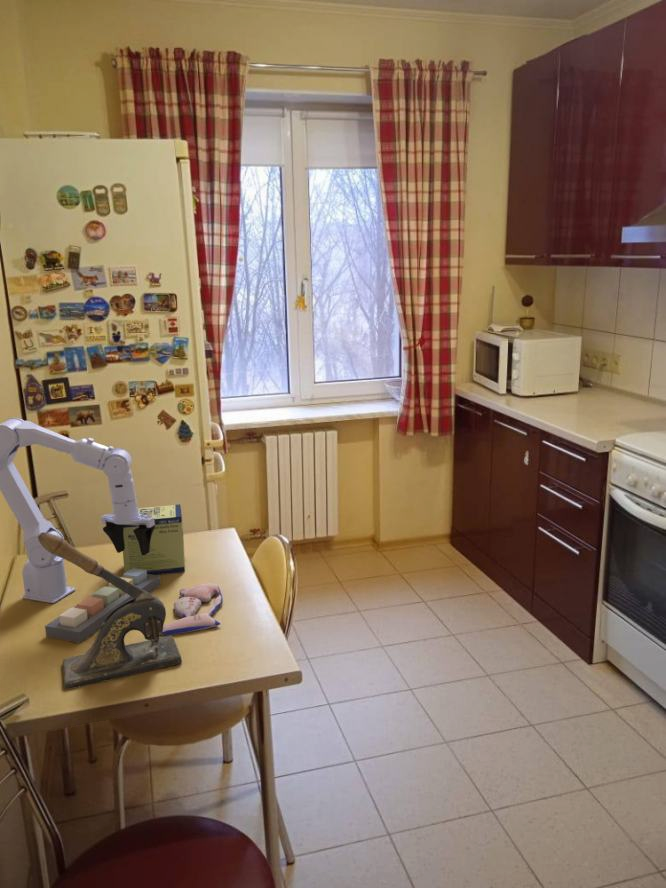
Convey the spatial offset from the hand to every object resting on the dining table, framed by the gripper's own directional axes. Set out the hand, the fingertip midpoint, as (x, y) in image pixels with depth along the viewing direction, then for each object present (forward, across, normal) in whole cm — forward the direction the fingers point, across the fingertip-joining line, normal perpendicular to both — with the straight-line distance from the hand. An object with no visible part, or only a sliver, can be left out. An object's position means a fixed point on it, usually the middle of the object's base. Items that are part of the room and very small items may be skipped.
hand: (133, 552), depth 171 cm
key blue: (+8, +1, 0) cm, 8 cm away
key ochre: (+8, +1, +6) cm, 10 cm away
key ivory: (+8, -1, +22) cm, 24 cm away
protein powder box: (+10, +5, -12) cm, 17 cm away
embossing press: (+10, -19, +30) cm, 36 cm away
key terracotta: (+8, 0, +17) cm, 18 cm away
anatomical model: (+12, -19, +5) cm, 23 cm away
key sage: (+8, 0, +11) cm, 14 cm away
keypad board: (+10, 0, +11) cm, 15 cm away
